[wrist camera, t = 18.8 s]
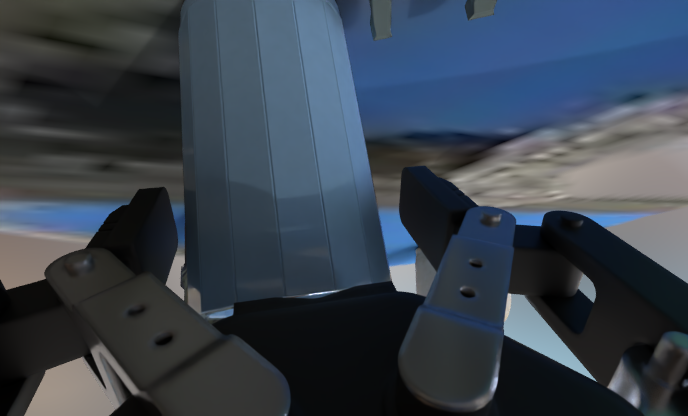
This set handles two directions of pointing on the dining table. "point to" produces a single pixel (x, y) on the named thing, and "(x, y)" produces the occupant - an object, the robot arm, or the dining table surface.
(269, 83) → the cup
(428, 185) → the robot arm
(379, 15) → the cutlery set
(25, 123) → the dining table surface
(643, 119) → the dining table surface
